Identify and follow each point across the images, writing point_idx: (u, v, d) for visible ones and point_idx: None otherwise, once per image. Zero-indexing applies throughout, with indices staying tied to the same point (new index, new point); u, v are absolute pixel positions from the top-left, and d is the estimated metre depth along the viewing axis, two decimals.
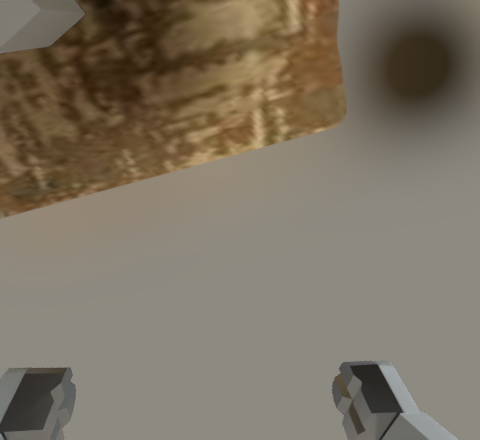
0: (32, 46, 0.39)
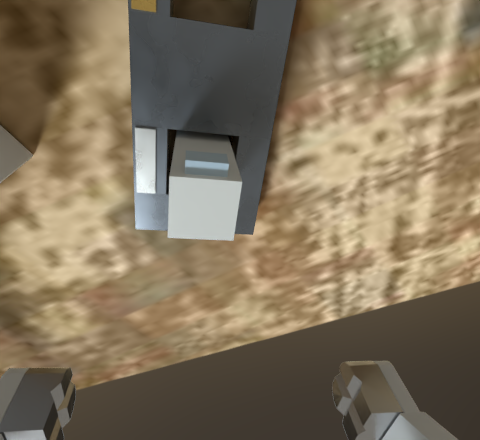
0: None
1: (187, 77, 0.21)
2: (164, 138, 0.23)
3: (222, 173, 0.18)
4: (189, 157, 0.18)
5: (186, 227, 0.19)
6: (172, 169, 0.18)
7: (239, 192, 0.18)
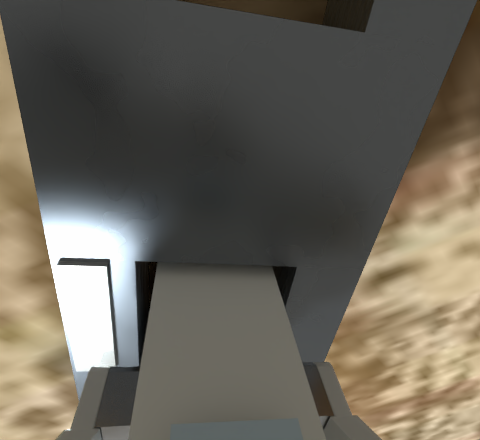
0: None
1: (179, 154, 0.08)
2: (128, 278, 0.10)
3: None
4: None
5: None
6: None
7: None
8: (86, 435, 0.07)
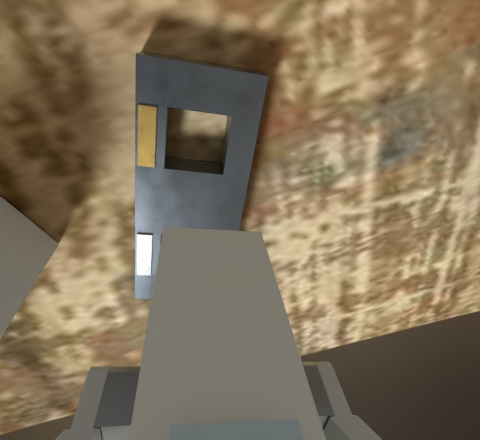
0: None
1: (175, 203, 0.30)
2: (158, 239, 0.31)
3: None
4: None
5: None
6: None
7: None
8: (86, 435, 0.07)
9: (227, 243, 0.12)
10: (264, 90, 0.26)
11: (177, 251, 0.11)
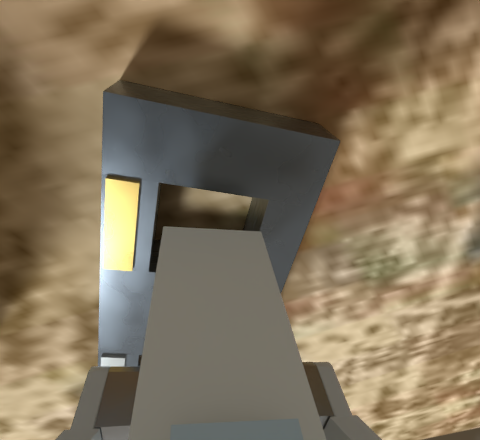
0: None
1: None
2: (134, 361, 0.20)
3: None
4: None
5: None
6: None
7: None
8: (86, 435, 0.07)
9: (227, 242, 0.12)
10: (329, 162, 0.15)
11: (177, 250, 0.11)
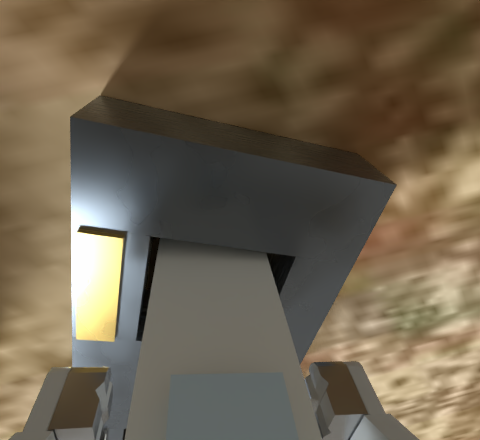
0: None
1: None
2: (118, 436, 0.17)
3: None
4: (178, 433, 0.06)
5: None
6: None
7: None
8: (38, 438, 0.07)
9: None
10: (379, 211, 0.11)
11: None
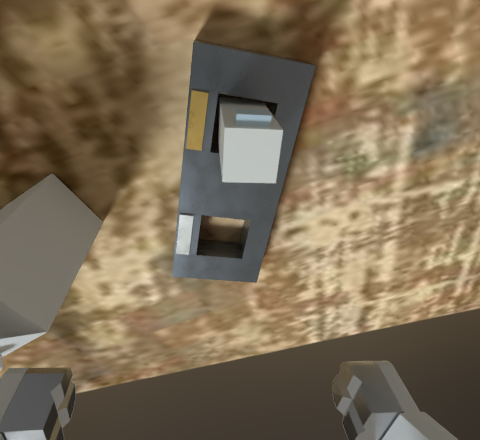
0: (15, 208, 0.27)
1: (218, 185, 0.31)
2: (198, 220, 0.33)
3: (266, 124, 0.22)
4: (239, 112, 0.22)
5: (237, 172, 0.23)
6: (225, 123, 0.22)
7: (280, 139, 0.22)
8: None
9: (246, 100, 0.29)
10: (310, 78, 0.27)
11: (226, 101, 0.28)
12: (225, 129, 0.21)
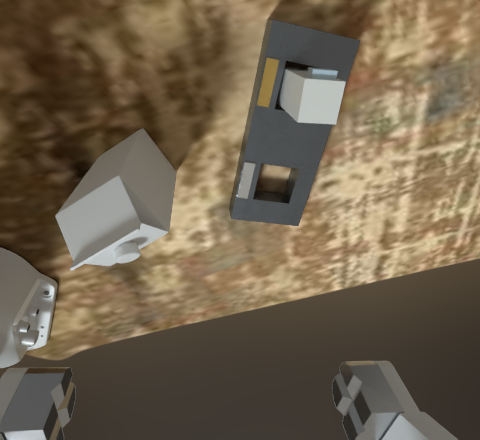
0: (129, 147, 0.34)
1: (277, 137, 0.39)
2: (258, 168, 0.41)
3: (333, 77, 0.30)
4: (313, 68, 0.30)
5: (309, 114, 0.31)
6: (303, 77, 0.30)
7: (343, 89, 0.30)
8: None
9: (303, 69, 0.38)
10: (355, 50, 0.35)
11: (289, 68, 0.37)
12: (305, 80, 0.30)
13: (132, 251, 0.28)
